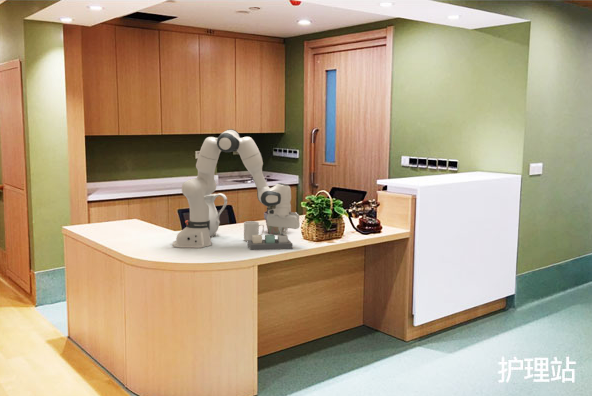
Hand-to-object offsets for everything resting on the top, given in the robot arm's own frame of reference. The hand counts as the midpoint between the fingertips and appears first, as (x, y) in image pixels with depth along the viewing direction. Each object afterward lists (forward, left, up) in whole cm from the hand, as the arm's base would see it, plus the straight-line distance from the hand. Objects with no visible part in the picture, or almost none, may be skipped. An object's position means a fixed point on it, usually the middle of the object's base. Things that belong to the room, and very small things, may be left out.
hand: (282, 234), depth 344 cm
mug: (-14, +19, -7) cm, 25 cm away
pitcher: (-39, +35, -7) cm, 53 cm away
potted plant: (+4, +41, -7) cm, 42 cm away
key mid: (-8, 0, -4) cm, 9 cm away
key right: (0, 0, -4) cm, 4 cm away
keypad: (-8, 0, -7) cm, 10 cm away
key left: (-15, 0, -4) cm, 16 cm away
